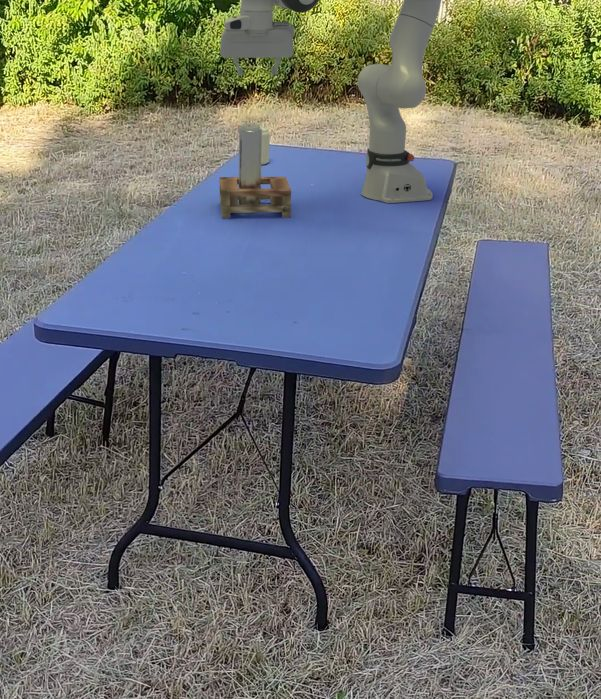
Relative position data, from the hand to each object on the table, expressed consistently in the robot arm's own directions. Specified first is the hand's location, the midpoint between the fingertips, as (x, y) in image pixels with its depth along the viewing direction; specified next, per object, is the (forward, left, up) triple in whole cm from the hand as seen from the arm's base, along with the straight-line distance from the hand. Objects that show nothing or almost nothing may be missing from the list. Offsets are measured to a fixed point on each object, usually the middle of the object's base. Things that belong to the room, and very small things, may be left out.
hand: (257, 74), depth 238 cm
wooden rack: (+1, +2, -39) cm, 39 cm away
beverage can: (-4, -53, -39) cm, 66 cm away
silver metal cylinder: (+2, +2, -39) cm, 39 cm away
